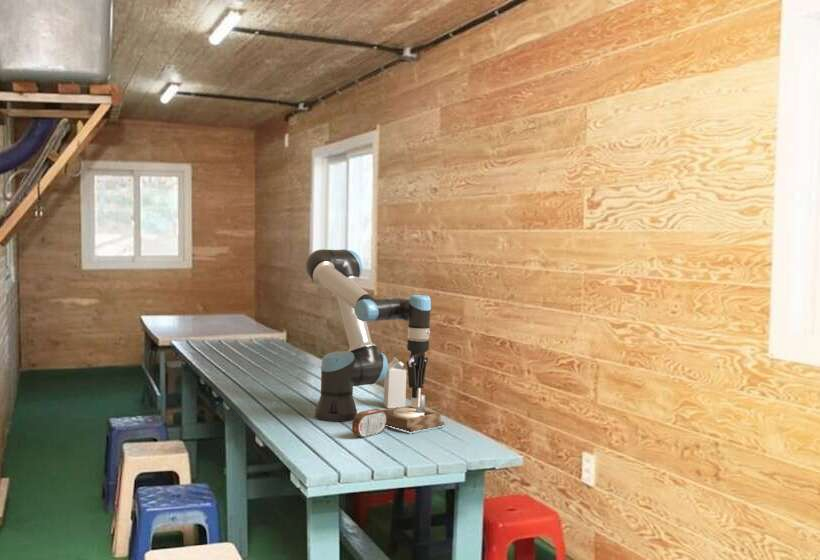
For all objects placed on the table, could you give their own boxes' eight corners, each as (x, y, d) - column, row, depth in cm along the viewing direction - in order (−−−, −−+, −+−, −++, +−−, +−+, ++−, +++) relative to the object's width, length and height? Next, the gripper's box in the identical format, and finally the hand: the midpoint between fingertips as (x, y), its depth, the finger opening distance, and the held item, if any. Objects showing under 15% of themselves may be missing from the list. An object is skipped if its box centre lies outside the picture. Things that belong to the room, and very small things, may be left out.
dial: (391, 421, 265) (392, 397, 264) (394, 413, 276) (395, 390, 275) (423, 422, 264) (424, 398, 264) (424, 415, 275) (425, 392, 274)
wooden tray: (410, 434, 257) (411, 420, 257) (373, 422, 272) (373, 409, 272) (444, 427, 268) (444, 414, 268) (406, 416, 283) (406, 403, 282)
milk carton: (387, 408, 294) (389, 360, 293) (383, 404, 301) (384, 357, 300) (405, 408, 296) (407, 359, 295) (400, 404, 303) (402, 357, 302)
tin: (381, 430, 261) (382, 406, 261) (388, 432, 259) (389, 407, 259) (350, 438, 250) (351, 413, 249) (357, 440, 248) (358, 414, 247)
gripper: (420, 342, 257) (417, 411, 259) (435, 338, 269) (432, 404, 271) (400, 340, 261) (397, 408, 262) (416, 336, 272) (413, 401, 274)
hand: (415, 406), depth 266 cm, fingers closed
